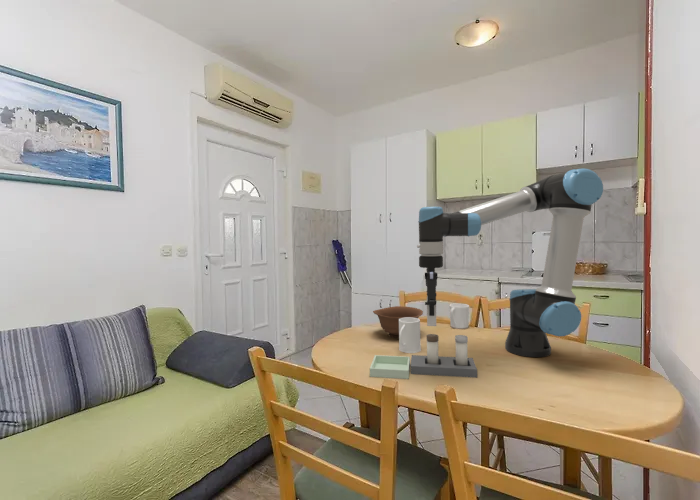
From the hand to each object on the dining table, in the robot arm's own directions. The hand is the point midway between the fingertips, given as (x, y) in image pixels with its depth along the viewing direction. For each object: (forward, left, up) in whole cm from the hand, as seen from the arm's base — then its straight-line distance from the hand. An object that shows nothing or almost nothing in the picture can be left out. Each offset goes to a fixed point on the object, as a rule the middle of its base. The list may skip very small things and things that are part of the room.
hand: (431, 320), depth 112 cm
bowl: (+14, -38, -17) cm, 44 cm away
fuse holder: (-3, 0, -17) cm, 17 cm away
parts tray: (+13, +3, -17) cm, 21 cm away
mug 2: (-13, -54, -17) cm, 58 cm away
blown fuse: (0, 0, -16) cm, 16 cm away
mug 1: (+9, -17, -17) cm, 25 cm away
